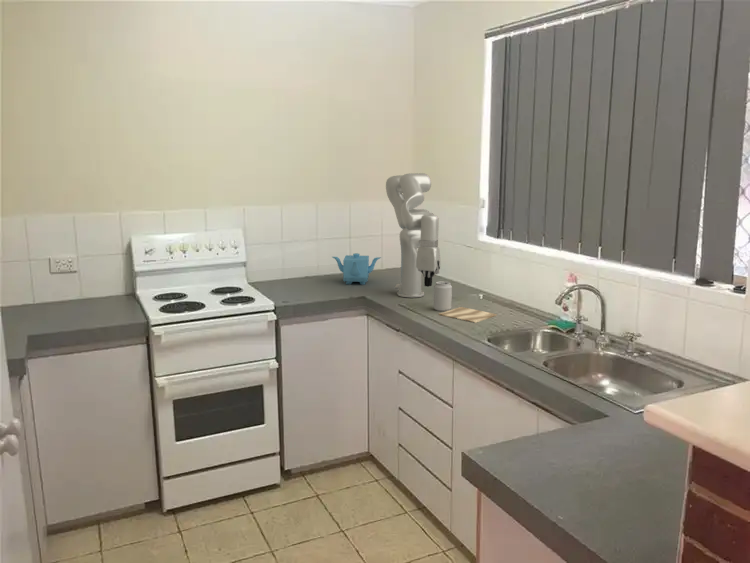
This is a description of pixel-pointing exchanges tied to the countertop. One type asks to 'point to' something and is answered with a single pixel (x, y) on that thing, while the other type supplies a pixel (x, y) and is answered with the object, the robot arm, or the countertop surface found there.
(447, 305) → the can
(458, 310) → the mat
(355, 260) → the teakettle
